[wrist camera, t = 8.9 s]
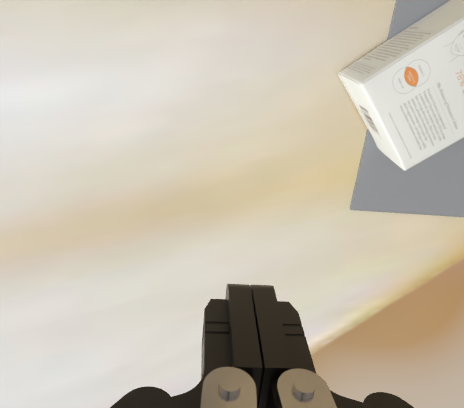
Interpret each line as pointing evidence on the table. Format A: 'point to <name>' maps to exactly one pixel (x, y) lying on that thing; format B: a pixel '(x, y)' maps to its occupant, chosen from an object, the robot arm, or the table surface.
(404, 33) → the small box
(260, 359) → the robot arm
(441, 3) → the mat
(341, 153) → the table surface
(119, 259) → the table surface
